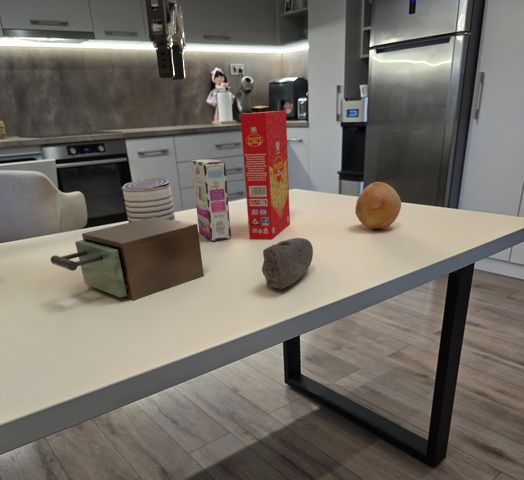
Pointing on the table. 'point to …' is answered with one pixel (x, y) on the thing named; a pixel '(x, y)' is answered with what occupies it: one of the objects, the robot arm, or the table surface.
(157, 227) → the cabinet
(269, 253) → the perforated stone tool
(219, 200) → the candy bar box
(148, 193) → the can
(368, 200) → the onion
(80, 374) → the table surface
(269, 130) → the food packaging
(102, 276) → the drawer
